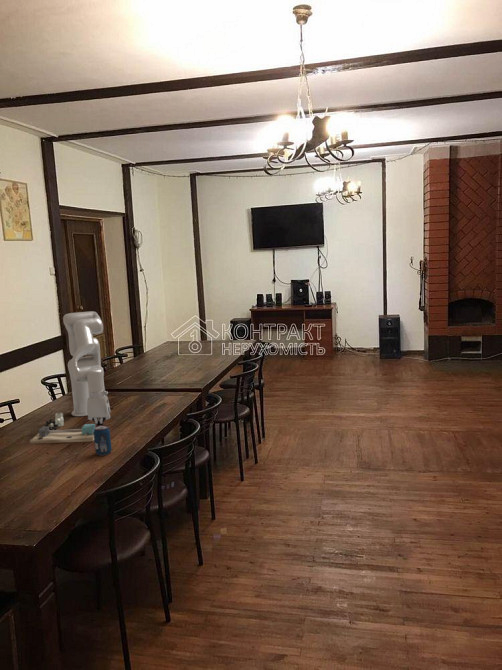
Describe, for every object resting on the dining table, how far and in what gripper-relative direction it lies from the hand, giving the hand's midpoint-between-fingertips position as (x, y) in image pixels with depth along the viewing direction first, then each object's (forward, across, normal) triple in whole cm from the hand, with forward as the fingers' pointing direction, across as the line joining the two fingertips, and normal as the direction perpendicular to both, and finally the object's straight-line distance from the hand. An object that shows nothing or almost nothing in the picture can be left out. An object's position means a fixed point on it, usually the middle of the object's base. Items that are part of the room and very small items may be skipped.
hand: (100, 430), depth 261 cm
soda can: (+3, -8, +24) cm, 25 cm away
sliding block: (+1, +6, +1) cm, 6 cm away
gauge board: (+3, +17, +1) cm, 17 cm away
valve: (+3, +27, -15) cm, 31 cm away
